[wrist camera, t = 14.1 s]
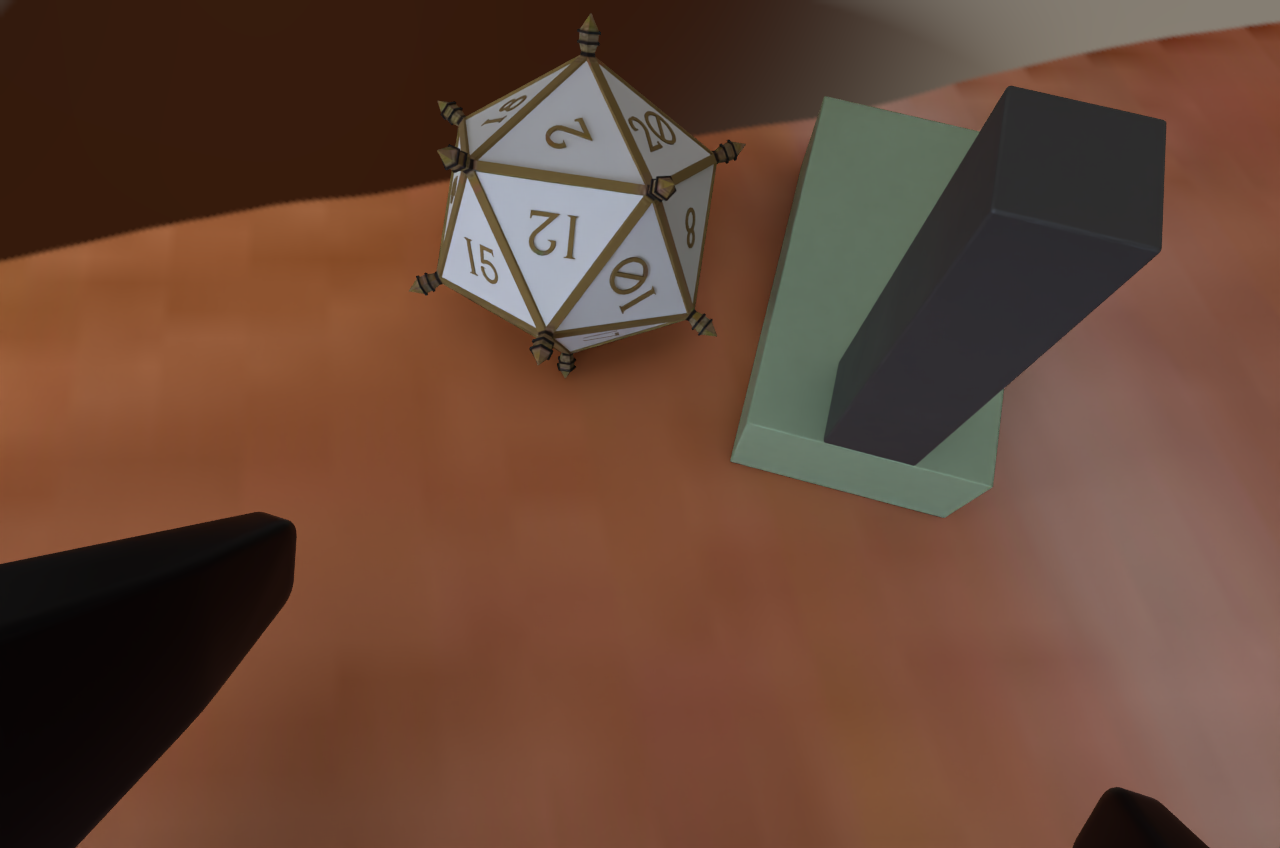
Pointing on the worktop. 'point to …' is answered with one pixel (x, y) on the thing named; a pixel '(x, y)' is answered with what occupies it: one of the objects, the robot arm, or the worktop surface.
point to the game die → (576, 210)
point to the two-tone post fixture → (939, 285)
